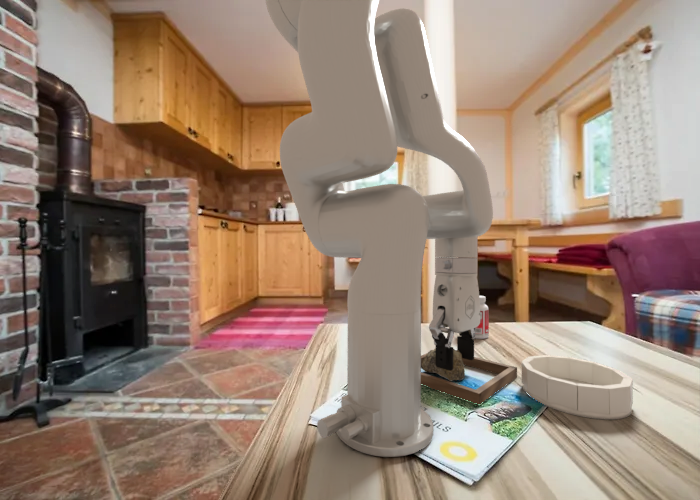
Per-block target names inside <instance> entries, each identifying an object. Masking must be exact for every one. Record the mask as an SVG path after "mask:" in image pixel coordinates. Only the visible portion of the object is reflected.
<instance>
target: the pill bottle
mask: <svg viewBox="0 0 700 500" xmlns="http://www.w3.org/2000/svg"><path fill="white" fill-rule="evenodd" d="M486 297H487V296H484V295H479V299H480V324H479V326H477V327H476V328H475V338H474V340H475V339H477V340H478V339H487V338H489V336H490V334H489V333H490V323H489V321H490V317H489V316H490V315H489V314H490V313H489V312H490V311H489V306H488V305H487V304H486V301H487V300H486V299H487V298H486Z"/></svg>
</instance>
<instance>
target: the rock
mask: <svg viewBox="0 0 700 500" xmlns="http://www.w3.org/2000/svg"><path fill="white" fill-rule="evenodd" d="M435 350H436V347H435V348H434V349H430V350H429V351H428V352H427V354H426V353H425V354H426V356H425V358H424V359H423V361H422V365H421V369H422V371H424V372H426V373H427V374H428V373H430V374H431V373H432V374H434V373H435V374H438V375H439V376H440V377H442V378H444V379H446V380H448V381H450V382H453V381H457V380H459V381H462V380H463V379H464V378H465V376H466V373H465V365H464V363H463V360H462V354H461V353H460V352H459V350H457V349H455V348H453V370H451V371H449V370H446V369H442V368H439V367H437V366H436V365H435Z"/></svg>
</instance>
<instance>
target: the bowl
mask: <svg viewBox="0 0 700 500" xmlns="http://www.w3.org/2000/svg"><path fill="white" fill-rule="evenodd" d="M633 382H634V379H633V378H632V377H631V376H629V375H628V374H626V373H624V372H623V371H621V370H620V369H618V368H617V369H616V368H614V367H611V366H608V365H605V364H604V363H603V364H602V363H599V362H597V361H592V360H586V359H582V358H576V357H572V356H562V355H551V354H550V355H549V354H543V355H530V356H527V357H526V358H524V359H523V360H521V383H522V385H523V386H522V388H523V391H524V390H525V391H526V392H527V393H528V394H529V395H530V396H531V397H532V398H534V399H535V400H534V399H533V400H534V401H536V400H537V401H538V402H537V401H536V402H537V403H539V402H540V403H539V404H541V403H542V405H543V404H544V406H545V407H548V408H550V409H553V410H556V411H559V412H563V413H566V414H570V415H574V416H577V417H583V418H587V419H588V418H589V419H596V420H606V421H607V420H608V421H609V420H620V419H625V418H628V417H629V416H631V415H632V412H633V411H632V410H633V408H632V407H633V402H634V401H633V400H634V396H633V394H634V393H633V392H634V390H633V388H634V386H633V384H634V383H633ZM525 391H524V392H525ZM530 396H529V397H530ZM531 397H530V398H531ZM532 398H531V399H532Z"/></svg>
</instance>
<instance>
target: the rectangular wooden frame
mask: <svg viewBox="0 0 700 500" xmlns="http://www.w3.org/2000/svg"><path fill="white" fill-rule="evenodd" d="M427 353H428V352H427ZM427 353H425V354H421V365H422V361H423V359H424V358H425V356H426V354H427ZM462 360H463V363H464V366H467V367H471V368H474V369H478V370H483V371H485V372H489V373H493V374H497V375H496V376H494V377H493V378H491V379H490V380H487V382H485V383H484V384H482V385H481V386H479V387H477V388H476V389H475V388H471V387H468V386H465V385H461V384H459V383H457V382H453V381H449V380H448V379H445V378H444V379H443V378H440V377H437V376H434V375H431V374H428V373H424V372H421V384H423V385H426V386H428V387H430V388H432V389H431V390H433V389H435V390H434V391H436V390H439V391H441V392H440V393H442V392H445V393H447V394H450V395H453V396H456V397H459V398H462V399H465V400H468V401H471V402H473V403H477V404H481V403H482V402H484V401H485V400H486V399H488V398H489V397H490V396H492V395H493V394H494V393H495V392H497V391H498V390H499V391H501V390H502V389H503V388H505V387H506V386H507V385H509V384H510V383H511V382H513V381H514V380H515V379H517V378H518V367H517V366H514V365H513V366H512V365H510V364H509V365H508V364H505V363H500V362H497V361H492V360H489V359H483V358H482V357H481V358H480V357H476V356H474V360H468V359H464V358H462ZM506 384H507V385H506ZM505 385H506V386H505ZM504 386H505V387H504ZM502 387H503V388H502ZM430 388H429V389H430ZM501 388H502V389H501ZM500 389H501V390H500ZM439 391H438V392H439ZM499 391H498V392H499ZM498 392H497V393H498ZM447 394H446V395H447ZM450 395H449V396H450ZM494 395H495V394H494ZM494 395H493V396H494ZM453 396H452V397H453ZM493 396H492V397H493ZM456 397H455V398H456ZM490 398H491V397H490ZM490 398H489V399H490ZM489 399H488V400H489ZM486 401H487V400H486ZM486 401H485V402H486ZM485 402H484V403H485ZM473 403H472V404H473ZM482 404H483V403H482ZM482 404H481V405H482Z"/></svg>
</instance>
